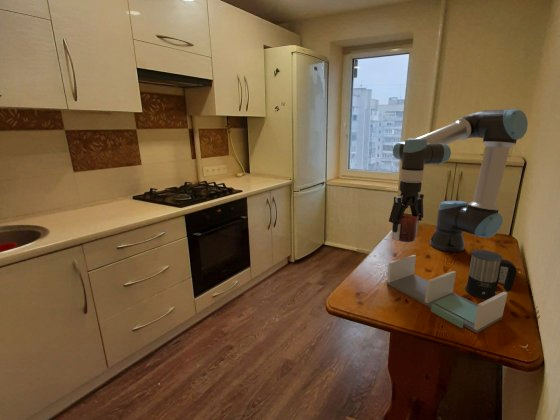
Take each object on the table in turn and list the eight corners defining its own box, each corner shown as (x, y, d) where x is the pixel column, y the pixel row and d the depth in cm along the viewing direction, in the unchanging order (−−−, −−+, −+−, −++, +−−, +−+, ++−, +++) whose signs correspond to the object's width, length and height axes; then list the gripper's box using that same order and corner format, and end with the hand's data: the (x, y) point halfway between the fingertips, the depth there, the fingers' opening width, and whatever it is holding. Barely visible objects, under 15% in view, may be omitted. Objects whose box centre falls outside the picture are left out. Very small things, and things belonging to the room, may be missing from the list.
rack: (411, 275, 123) (413, 254, 120) (501, 318, 95) (507, 293, 93) (383, 284, 115) (386, 263, 113) (473, 335, 88) (478, 307, 85)
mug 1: (394, 237, 126) (396, 212, 125) (417, 240, 122) (420, 214, 121) (390, 242, 116) (392, 215, 114) (415, 246, 112) (418, 218, 110)
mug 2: (510, 286, 115) (514, 270, 113) (489, 280, 119) (492, 264, 118) (514, 277, 122) (518, 261, 120) (494, 271, 126) (498, 256, 125)
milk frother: (472, 298, 106) (480, 259, 102) (451, 277, 122) (457, 242, 118) (515, 300, 105) (525, 261, 101) (489, 278, 120) (496, 243, 117)
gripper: (421, 177, 122) (414, 230, 128) (382, 181, 112) (376, 239, 118) (438, 180, 116) (430, 236, 122) (398, 184, 106) (391, 245, 112)
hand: (404, 237), depth 120 cm, fingers closed on mug 1, 9 cm apart
